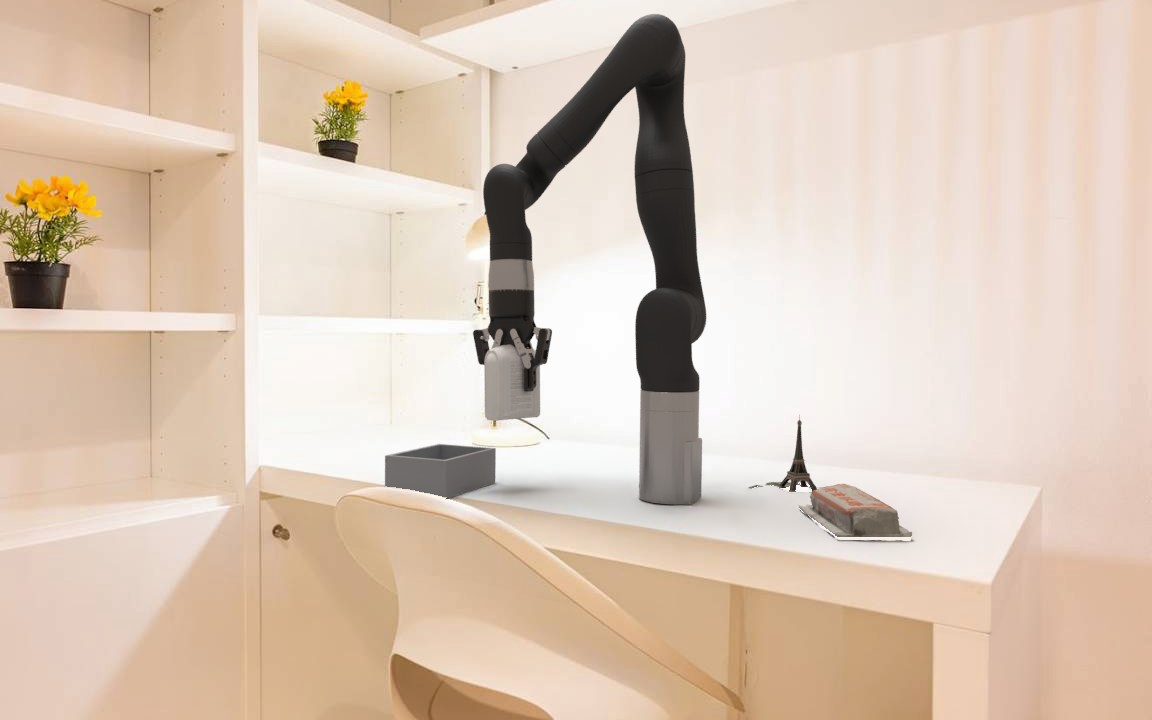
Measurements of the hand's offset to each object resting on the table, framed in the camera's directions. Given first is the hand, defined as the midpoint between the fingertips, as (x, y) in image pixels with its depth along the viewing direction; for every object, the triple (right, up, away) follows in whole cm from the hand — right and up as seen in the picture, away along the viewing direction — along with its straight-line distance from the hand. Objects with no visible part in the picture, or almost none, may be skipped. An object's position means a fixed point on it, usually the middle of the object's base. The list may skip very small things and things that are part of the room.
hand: (512, 390), depth 133 cm
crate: (-12, -16, +2) cm, 20 cm away
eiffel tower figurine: (+49, -18, +4) cm, 52 cm away
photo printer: (0, -5, 0) cm, 5 cm away
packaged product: (+49, -18, -22) cm, 56 cm away
